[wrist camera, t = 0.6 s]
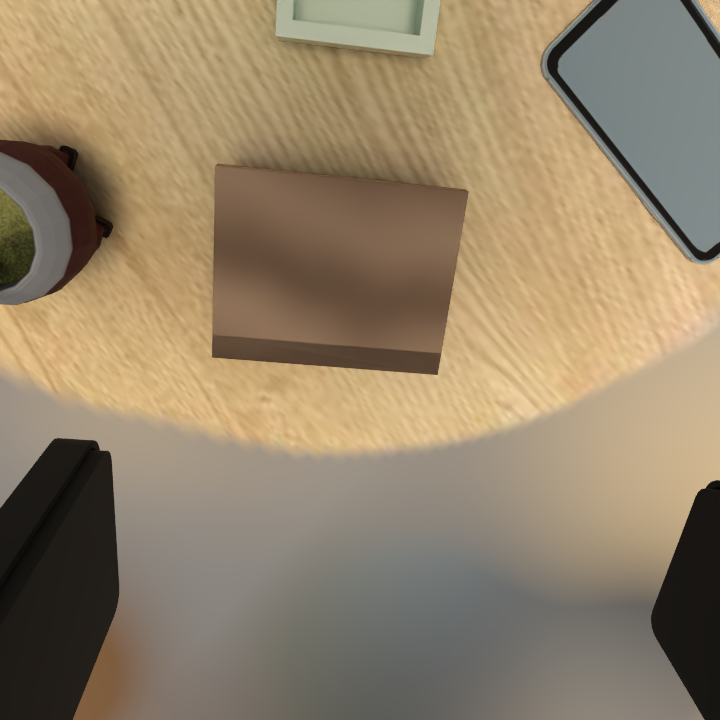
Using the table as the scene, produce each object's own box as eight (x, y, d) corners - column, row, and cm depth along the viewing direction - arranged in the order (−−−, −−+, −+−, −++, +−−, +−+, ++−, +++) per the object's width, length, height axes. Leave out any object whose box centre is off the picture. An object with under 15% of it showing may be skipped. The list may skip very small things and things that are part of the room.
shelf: (230, 155, 32) (215, 165, 28) (449, 178, 33) (468, 192, 29) (226, 324, 36) (212, 357, 31) (424, 340, 37) (437, 374, 32)
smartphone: (657, -62, 29) (817, 176, 33) (647, -57, 30) (805, 174, 34) (533, 62, 31) (700, 273, 35) (527, 63, 32) (691, 269, 36)
